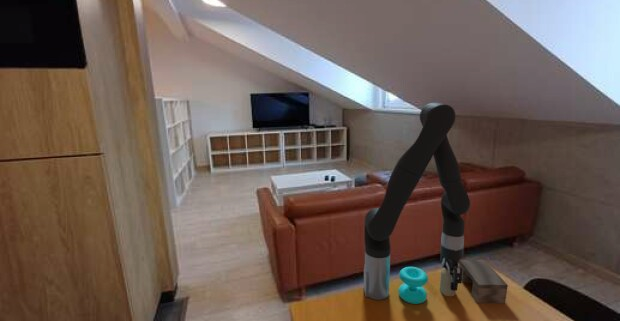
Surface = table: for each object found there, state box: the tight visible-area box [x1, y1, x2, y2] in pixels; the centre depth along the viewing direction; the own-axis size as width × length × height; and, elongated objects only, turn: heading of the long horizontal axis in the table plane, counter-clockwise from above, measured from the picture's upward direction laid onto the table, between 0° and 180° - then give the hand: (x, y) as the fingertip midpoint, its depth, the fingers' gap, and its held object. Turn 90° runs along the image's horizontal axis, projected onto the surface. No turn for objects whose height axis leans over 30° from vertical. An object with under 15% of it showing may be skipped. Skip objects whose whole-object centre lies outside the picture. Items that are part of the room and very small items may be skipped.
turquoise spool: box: [398, 266, 429, 305], centre depth 112 cm, size 10×10×10 cm
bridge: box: [458, 259, 509, 304], centre depth 116 cm, size 10×16×8 cm, turn 177°
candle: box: [439, 267, 457, 297], centre depth 114 cm, size 6×6×10 cm
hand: (449, 282), depth 114 cm, fingers open, 8 cm apart
